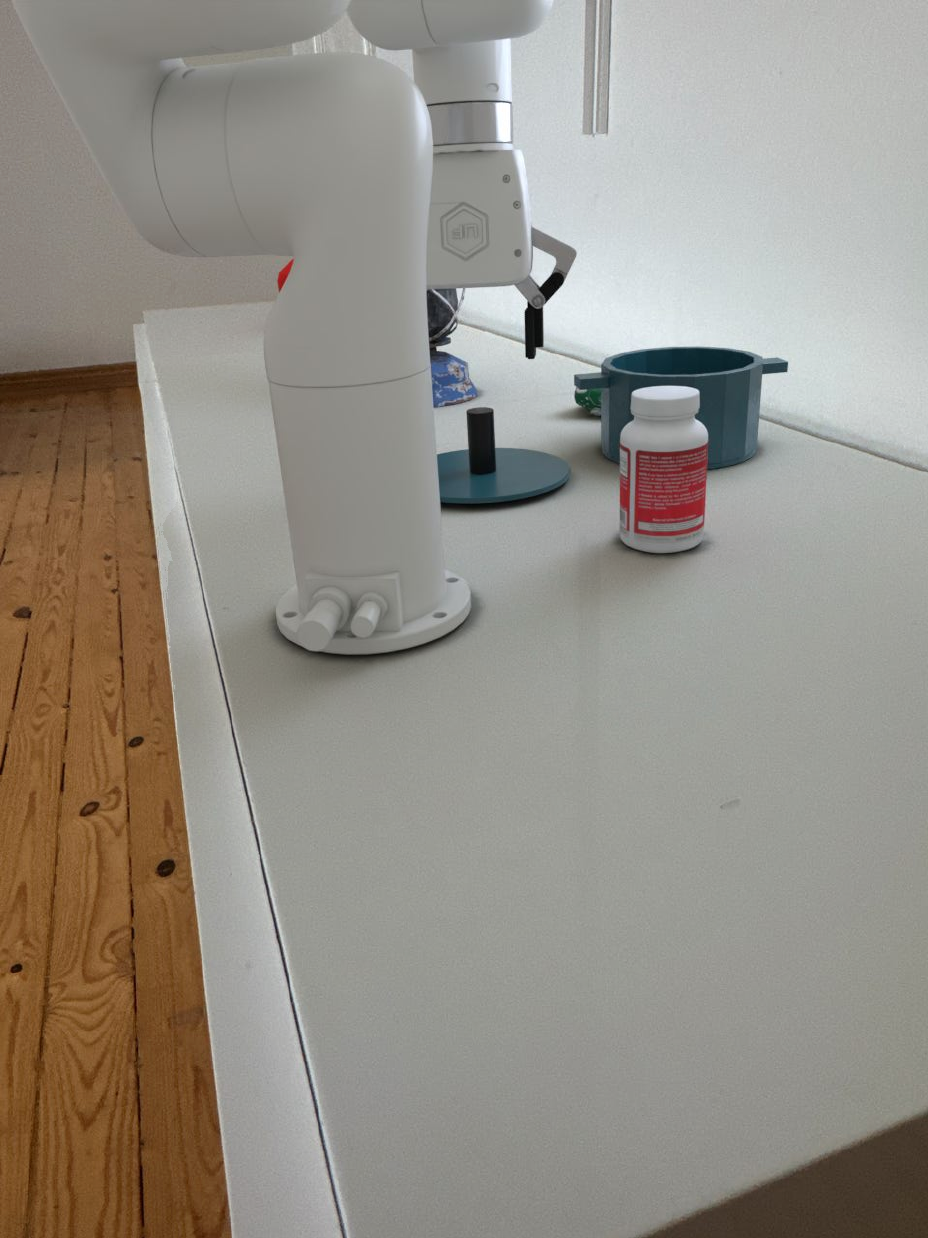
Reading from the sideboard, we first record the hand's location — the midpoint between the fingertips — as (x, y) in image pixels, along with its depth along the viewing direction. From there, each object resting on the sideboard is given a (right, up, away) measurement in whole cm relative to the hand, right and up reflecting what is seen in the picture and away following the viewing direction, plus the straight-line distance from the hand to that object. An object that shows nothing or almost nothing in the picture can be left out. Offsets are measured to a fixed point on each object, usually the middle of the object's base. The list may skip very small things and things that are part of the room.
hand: (474, 358), depth 82 cm
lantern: (-5, +6, +40) cm, 41 cm away
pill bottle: (+14, -16, -10) cm, 24 cm away
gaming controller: (+16, +1, +26) cm, 31 cm away
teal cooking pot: (+20, -6, +12) cm, 24 cm away
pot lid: (+1, -9, +5) cm, 11 cm away
